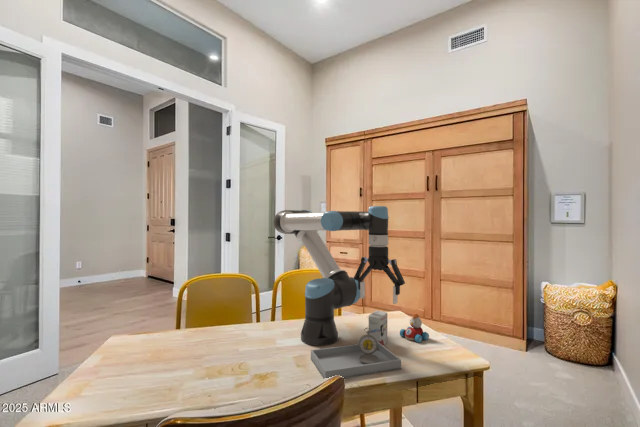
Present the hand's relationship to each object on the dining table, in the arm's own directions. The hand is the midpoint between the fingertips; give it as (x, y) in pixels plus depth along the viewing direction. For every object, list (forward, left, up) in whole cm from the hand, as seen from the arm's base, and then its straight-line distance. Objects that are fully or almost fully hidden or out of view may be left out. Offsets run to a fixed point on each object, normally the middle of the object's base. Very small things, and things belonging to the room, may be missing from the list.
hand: (378, 300), depth 125 cm
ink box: (0, 0, -17) cm, 17 cm away
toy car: (+10, +14, -17) cm, 24 cm away
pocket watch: (+3, -16, -17) cm, 23 cm away
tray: (0, -20, -17) cm, 26 cm away
